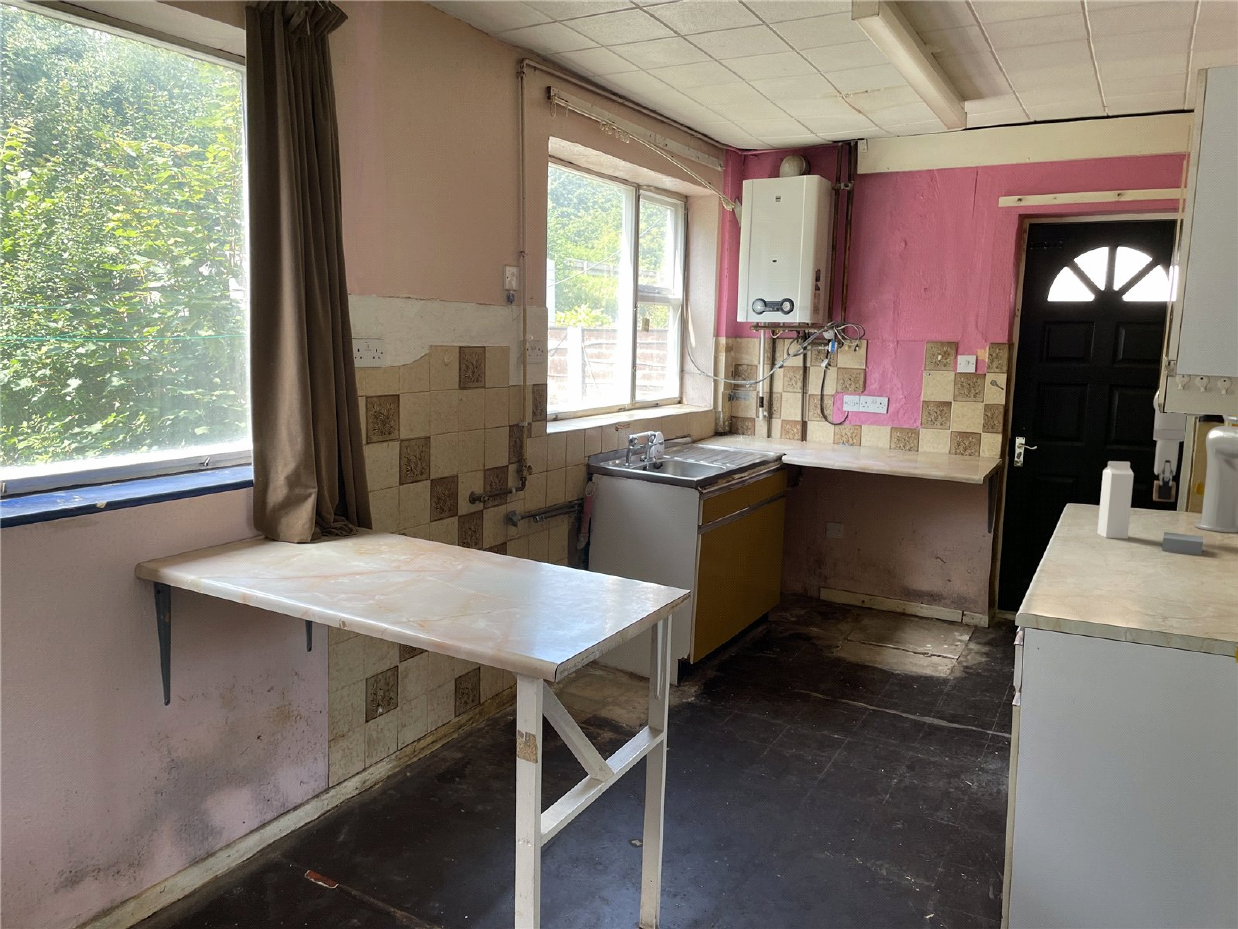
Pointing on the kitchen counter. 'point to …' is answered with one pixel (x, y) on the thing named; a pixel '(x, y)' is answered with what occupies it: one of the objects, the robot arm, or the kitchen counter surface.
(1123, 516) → the milk
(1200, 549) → the grey slab
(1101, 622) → the kitchen counter surface
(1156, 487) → the walnut cube
